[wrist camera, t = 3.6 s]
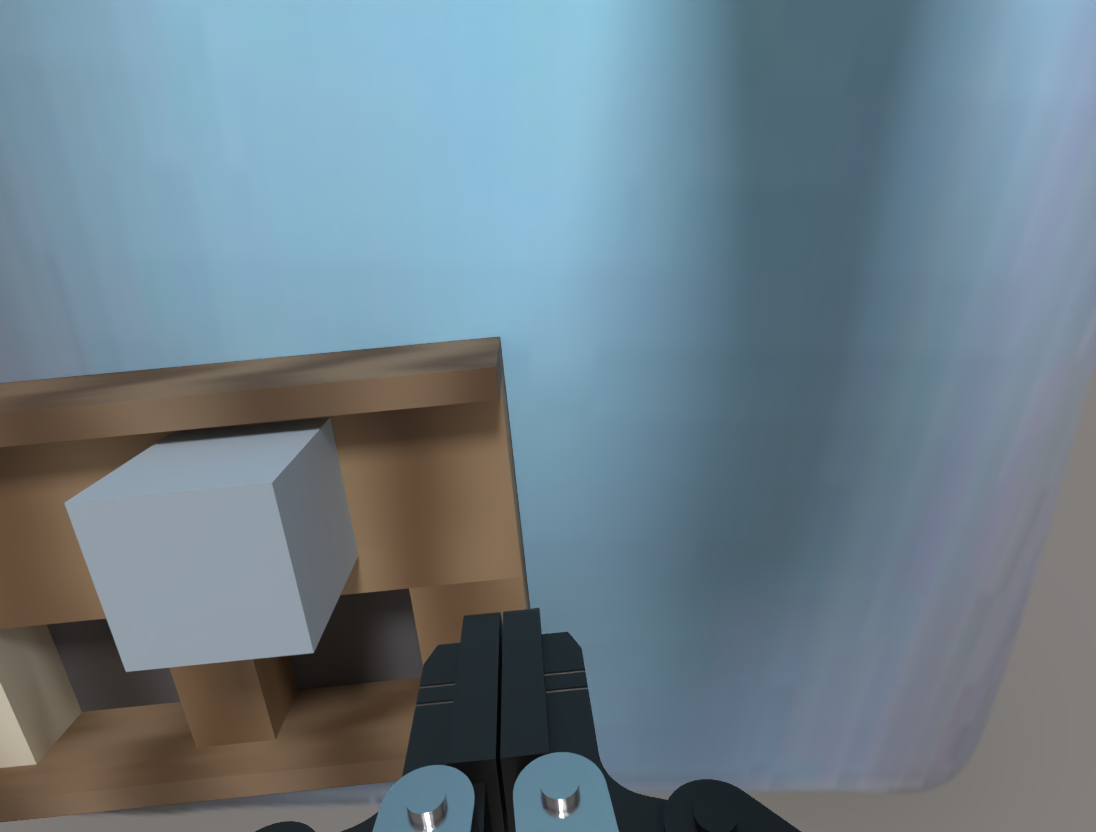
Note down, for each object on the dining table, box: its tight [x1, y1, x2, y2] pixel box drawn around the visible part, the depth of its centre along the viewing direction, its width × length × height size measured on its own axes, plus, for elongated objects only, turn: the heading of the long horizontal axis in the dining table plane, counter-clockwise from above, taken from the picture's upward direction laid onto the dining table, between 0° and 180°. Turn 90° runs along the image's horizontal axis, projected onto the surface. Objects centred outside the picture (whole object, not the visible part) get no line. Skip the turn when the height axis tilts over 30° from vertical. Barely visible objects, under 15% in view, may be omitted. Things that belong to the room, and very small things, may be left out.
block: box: [64, 418, 358, 672], centre depth 18 cm, size 5×5×5 cm
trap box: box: [0, 337, 530, 822], centre depth 22 cm, size 27×15×4 cm, turn 95°
